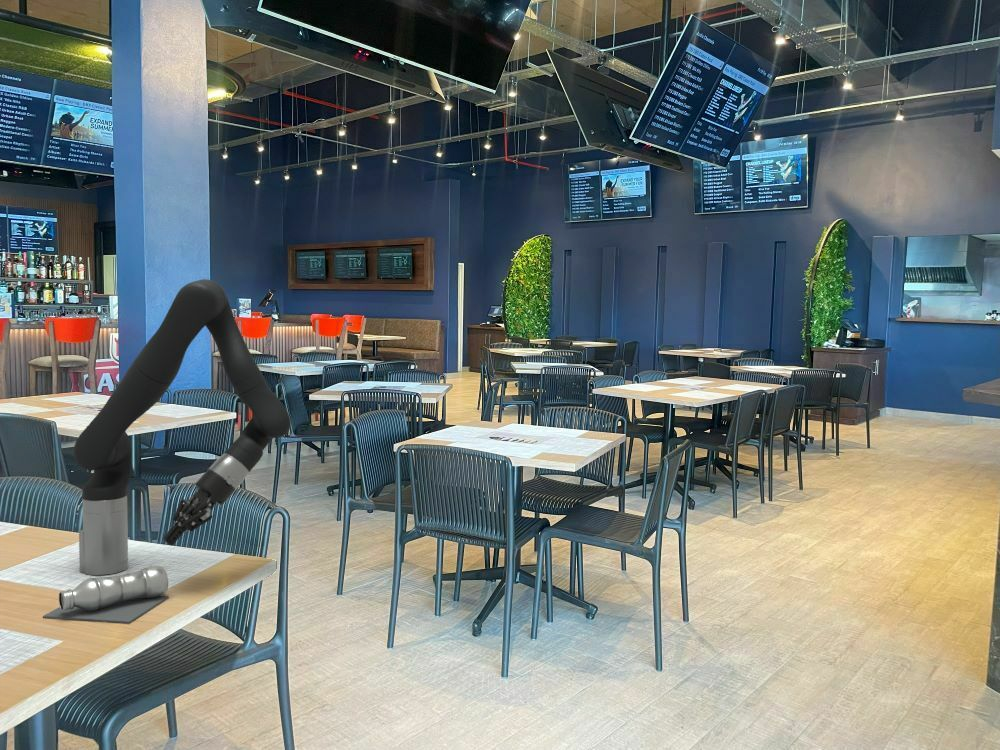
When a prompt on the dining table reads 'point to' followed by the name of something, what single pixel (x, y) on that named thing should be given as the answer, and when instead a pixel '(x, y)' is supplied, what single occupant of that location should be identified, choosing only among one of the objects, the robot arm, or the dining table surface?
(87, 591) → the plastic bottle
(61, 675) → the dining table surface
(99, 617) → the rubber mat
